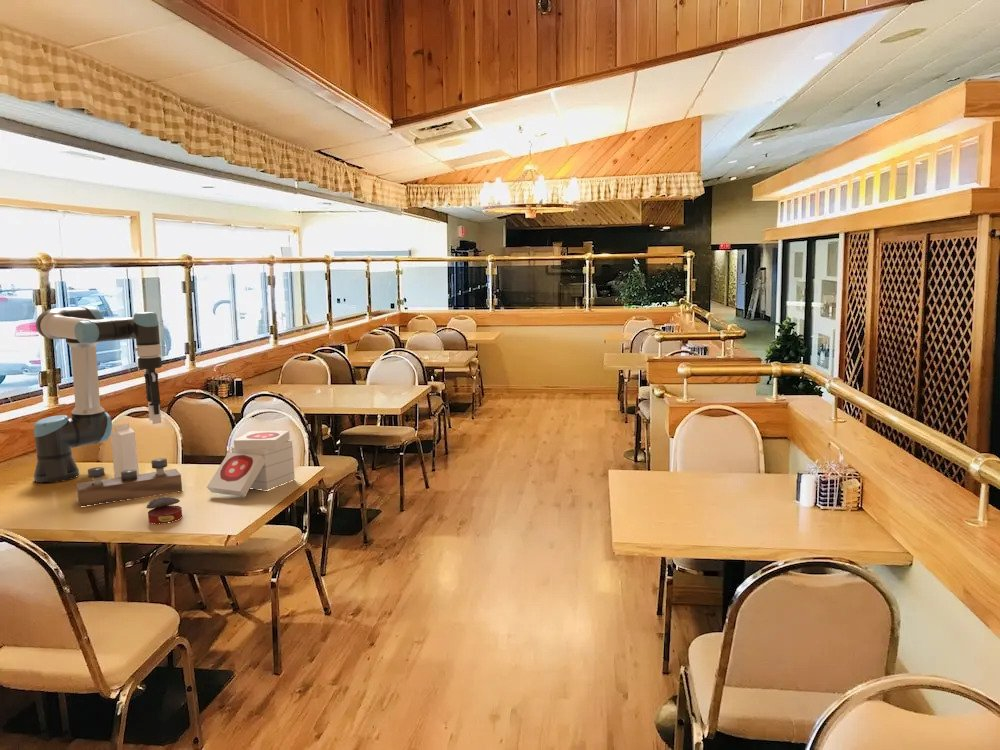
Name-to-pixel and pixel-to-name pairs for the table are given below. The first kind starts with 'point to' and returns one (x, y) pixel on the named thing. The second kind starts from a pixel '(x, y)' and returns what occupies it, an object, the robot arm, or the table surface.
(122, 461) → the milk
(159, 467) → the knob right
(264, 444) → the pizza boxes
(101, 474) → the knob left
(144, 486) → the mount
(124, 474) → the knob middle
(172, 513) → the canned food
